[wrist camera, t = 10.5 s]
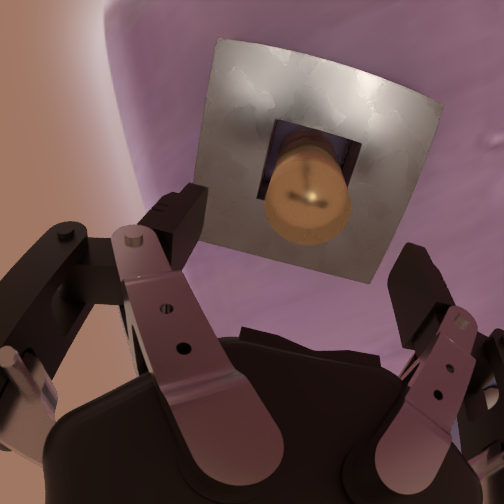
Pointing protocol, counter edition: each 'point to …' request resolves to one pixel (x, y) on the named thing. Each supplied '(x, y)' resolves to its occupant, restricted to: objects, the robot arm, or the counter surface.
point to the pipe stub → (307, 190)
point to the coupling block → (321, 118)
